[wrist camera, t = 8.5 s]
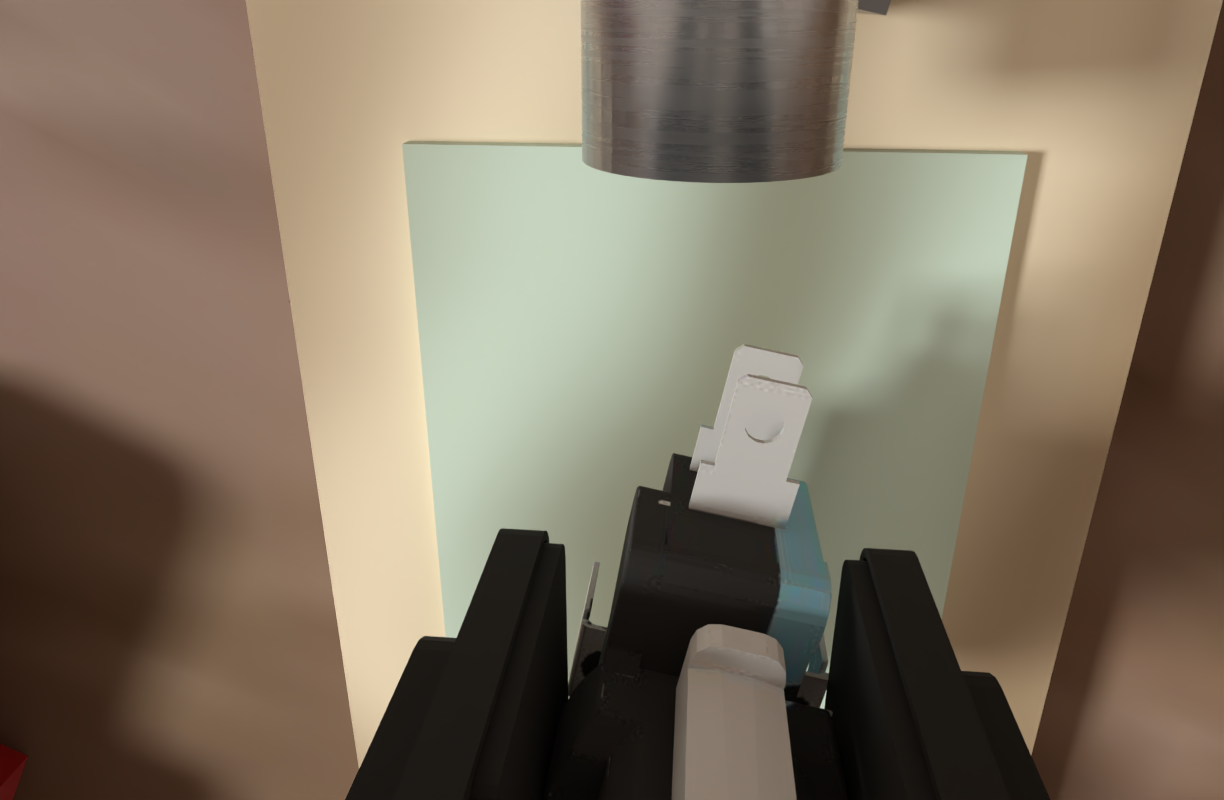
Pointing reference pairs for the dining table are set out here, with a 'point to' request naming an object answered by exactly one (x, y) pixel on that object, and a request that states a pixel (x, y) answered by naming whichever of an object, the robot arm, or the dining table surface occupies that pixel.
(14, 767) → the mechanical linkage
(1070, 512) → the board
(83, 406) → the dining table surface
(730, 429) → the push button
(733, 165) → the cylinder and cube
